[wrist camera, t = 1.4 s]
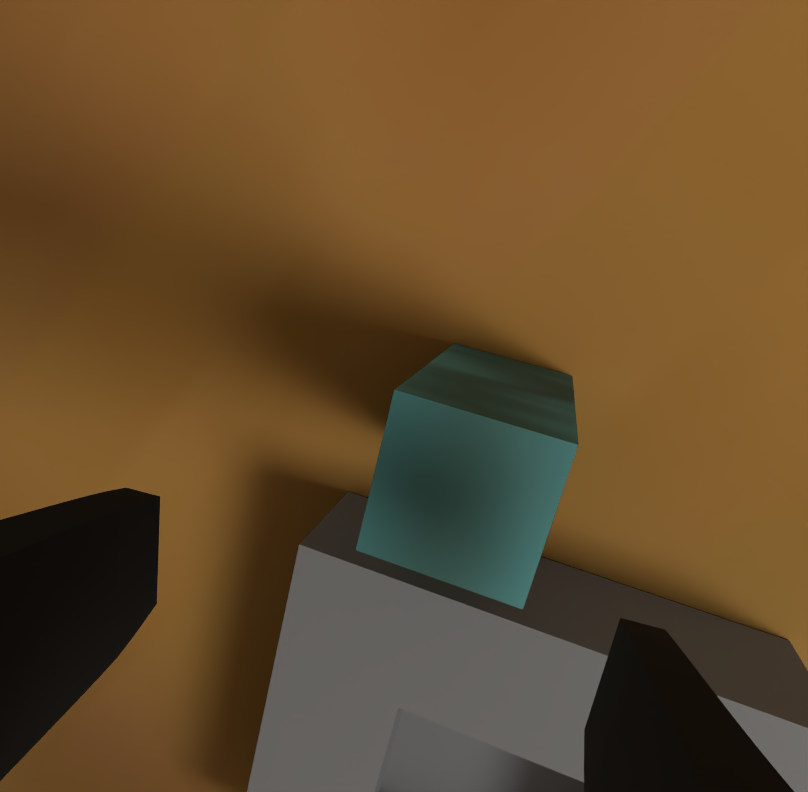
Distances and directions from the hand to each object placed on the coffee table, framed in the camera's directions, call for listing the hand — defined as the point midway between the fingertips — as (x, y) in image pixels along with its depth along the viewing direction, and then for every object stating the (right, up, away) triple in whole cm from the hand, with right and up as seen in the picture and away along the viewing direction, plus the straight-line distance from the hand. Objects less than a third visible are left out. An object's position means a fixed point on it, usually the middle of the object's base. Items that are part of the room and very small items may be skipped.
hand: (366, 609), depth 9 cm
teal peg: (+3, +3, +9) cm, 10 cm away
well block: (+4, -9, +12) cm, 15 cm away
